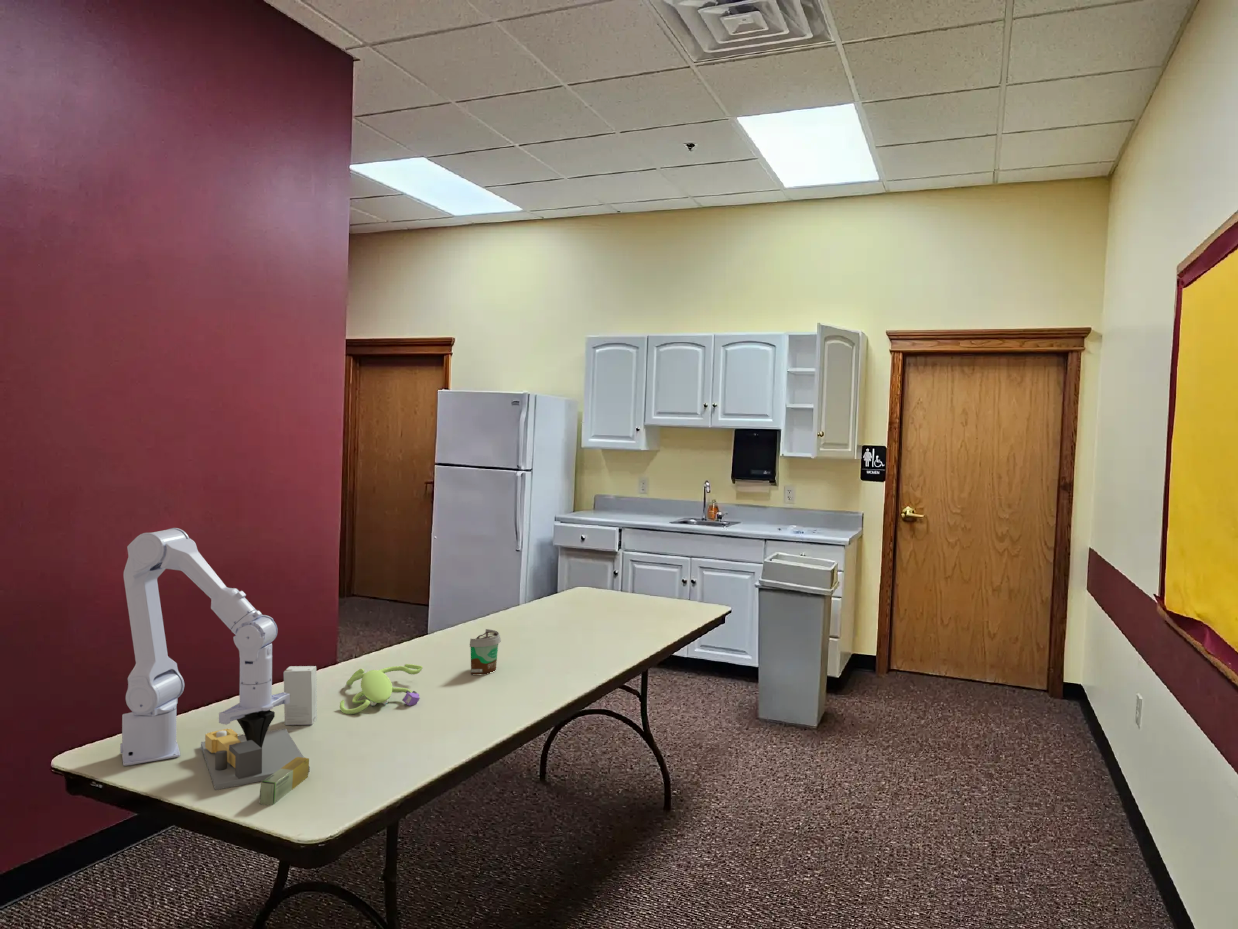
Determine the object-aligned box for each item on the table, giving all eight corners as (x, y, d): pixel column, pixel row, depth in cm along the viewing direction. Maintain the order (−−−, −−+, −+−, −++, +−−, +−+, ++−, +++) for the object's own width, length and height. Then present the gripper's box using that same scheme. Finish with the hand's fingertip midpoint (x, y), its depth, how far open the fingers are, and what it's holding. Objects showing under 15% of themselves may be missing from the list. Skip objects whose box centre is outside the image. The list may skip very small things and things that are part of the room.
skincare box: (317, 718, 182) (318, 665, 181) (312, 726, 177) (312, 670, 177) (289, 719, 181) (289, 665, 181) (282, 726, 177) (283, 671, 176)
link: (204, 746, 161) (204, 733, 161) (230, 740, 164) (230, 728, 164) (231, 771, 150) (231, 757, 149) (258, 764, 153) (258, 750, 153)
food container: (490, 678, 215) (491, 640, 215) (468, 676, 216) (469, 639, 216) (506, 665, 227) (507, 630, 227) (485, 664, 228) (486, 628, 228)
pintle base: (215, 790, 145) (215, 759, 145) (201, 747, 164) (201, 719, 164) (309, 771, 153) (309, 742, 153) (285, 733, 173) (285, 706, 173)
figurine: (422, 679, 214) (422, 658, 214) (421, 713, 188) (422, 689, 188) (348, 682, 210) (349, 661, 210) (337, 717, 184) (337, 693, 184)
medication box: (273, 807, 139) (273, 784, 139) (258, 805, 140) (259, 782, 140) (309, 778, 151) (309, 757, 151) (295, 776, 152) (296, 755, 152)
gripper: (236, 694, 150) (236, 767, 150) (300, 674, 163) (299, 741, 163) (211, 687, 153) (211, 759, 153) (276, 669, 166) (275, 735, 166)
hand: (255, 749), depth 158 cm, fingers closed
